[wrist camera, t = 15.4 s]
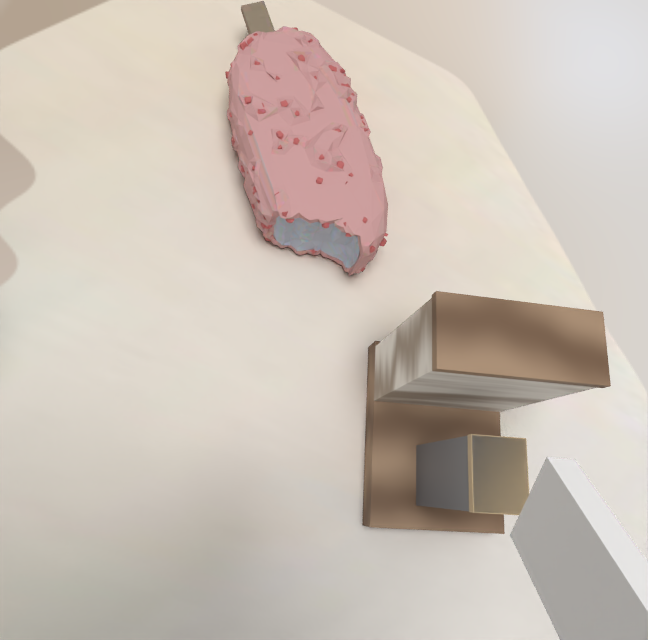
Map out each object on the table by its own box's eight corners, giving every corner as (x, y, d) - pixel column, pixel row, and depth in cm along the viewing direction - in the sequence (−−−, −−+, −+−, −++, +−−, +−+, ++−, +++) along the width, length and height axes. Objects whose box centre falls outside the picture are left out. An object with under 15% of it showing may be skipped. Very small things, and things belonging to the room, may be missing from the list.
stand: (491, 531, 49) (628, 555, 33) (361, 525, 47) (437, 547, 31) (486, 359, 54) (602, 306, 38) (367, 347, 52) (436, 285, 36)
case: (460, 508, 47) (530, 515, 36) (415, 505, 46) (473, 512, 36) (459, 447, 48) (526, 438, 38) (415, 444, 48) (471, 434, 37)
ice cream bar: (318, -36, 53) (423, 236, 47) (305, 33, 61) (393, 273, 55) (188, -25, 50) (282, 269, 43) (192, 46, 58) (272, 303, 52)
